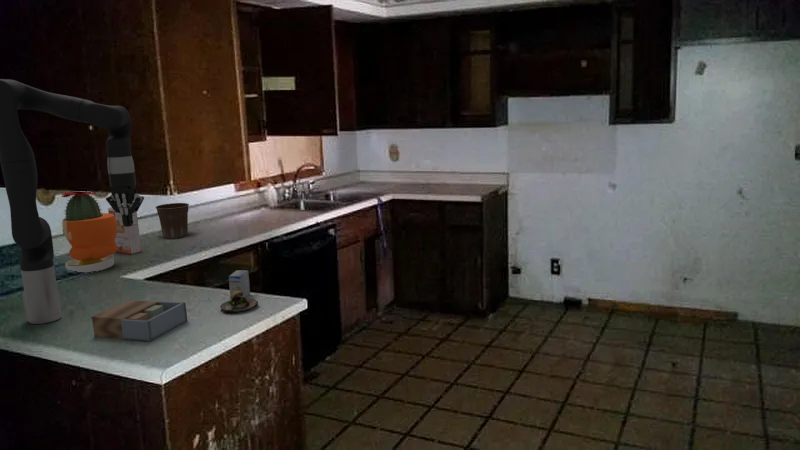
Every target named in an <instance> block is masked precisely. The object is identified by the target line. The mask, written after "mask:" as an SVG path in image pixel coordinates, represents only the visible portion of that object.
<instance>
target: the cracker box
mask: <svg viewBox="0 0 800 450" xmlns="http://www.w3.org/2000/svg"><path fill="white" fill-rule="evenodd" d="M107 211H108V213H110V214H114V216H115V218H116V222H117V235H116V238H115V242H116V244H117V250H116V252H118V253H121V254H128V255H133V254H138V253H142V252H143V251H142V244H141V234H140V229H139V220H138V219H139V218H138V211H137V212H134V213H133V214H132V217H133V224H132V226H130V227H125V226H124V225H123V221H122V215H121V214H120V213H116V212H115V211H114V209H113V208H112V207H111V206H110V207H108V208H107ZM116 252H115V253H116Z"/></svg>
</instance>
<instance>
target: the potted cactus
mask: <svg viewBox="0 0 800 450" xmlns="http://www.w3.org/2000/svg"><path fill="white" fill-rule="evenodd" d="M96 194H97V193H91V192H87V191H86V192H65V191H62V193H61V194H60V196H61V197H60V198H69V199H66V200H67V202H65V205H66V206H65V209H64V210H63V214H64V215H65V216H64V218H63V219H62V222H61V223H62V226H61V227H62V234H63V235H64V237H65V239H66V240H67V242H68V243H69V244H70V245H71V248H70V249H69V251H68V254H69V256H70V257H71V258H72V259H71V260H68V261H67V262H65V264H64V265H65V270H66V269H68V270H72V271H77V272H91V271H96V272H99V270H100V271H103V270H106V269H108V268H111V267H112V266H114V265H115V261H114V260H115V259H114V254H115V253H116V250H117V244H116V242H115V238H116V235H117V222H116V218H115V216H114V214H110V213H109V212H108V213H107V212H103V209H102V207H101V204H100V202H99V201H98V199H96V196H93V195H96ZM95 199H96V200H95ZM68 265H79V266H68ZM91 273H92V272H91Z"/></svg>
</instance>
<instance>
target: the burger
mask: <svg viewBox="0 0 800 450" xmlns="http://www.w3.org/2000/svg"><path fill="white" fill-rule="evenodd" d="M234 290H235V289H234ZM242 295H243V292H242V291H234V292H233V293H232V294H231V296H230V295H229V300H228V301H225V302H223V303H221V305H220V312H222V313H223V314H225V315H227V314H228V312H234V313H235V312H237V313H238V312H242V311H246V310H250V309H252V308H254V307H255V306H258V305H259V302H258V300H256V299H253V298H247V297H246V298H245V297H242Z"/></svg>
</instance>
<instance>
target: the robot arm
mask: <svg viewBox="0 0 800 450" xmlns="http://www.w3.org/2000/svg"><path fill="white" fill-rule="evenodd" d="M18 110H26V111H27V110H29V111H36V112H37V111H38V112H44V113H47V114H51V115H53V116H56V117H59V118H62V119H65V120H69V121H73V122H80V123H84V124H90V125H93V126H96V127H97V128H101V129H102V128H103V129H107V130H108V138H107V139H106V141H105V148H106V149H105V150H106V156H107V161H106V162H107V172H108V180H109V187H110V188H111V192H110V193H111V194H110V195H109V196H107V197H105V200H106V202H107V203H108V205H110V208H111V207H112V208H113V209H114V211H115V212H116V213H120V214H121V215H122V221H123V225H124V226H125V227H130V226H132V224H133V217H132V214H133V213H134V212H137V213H138V211H139V209H140V207H141V205H142V203H143V202H144V200H145V197H144V196H143V195H141V196H140V194H138V189H137V188H136V185H137V180H136V170H135V163H134V160H133V155H132V154H133V153H132V145H131V134H132V133H131V132H132V119H131V115H130V112H129V111H128V110H127V108H125V107H124V106H122V105H107V104H102V103H97V102H94V101H92V100H89V99H85V98H80V97H76V96H71V95H70V96H69V95H64V94H60V93H53V92H48V91H46V90H42V89H39V88H36V87H33V86H31V85H28V84H25V83H22V82H20V81H18V80H15V79H7V78H6V79H5V78H0V167H1V173H2V176H3V177H2V178H3V182H4V186H5V187H4V188H5V192H6V195H7V200H8V204H9V209H10V211H9V212H10V225H11V227H10V228H11V236H12V239H13V241H14V244H16V245H17V246H18V247H19V248H20V253H21V255H20V260H19V266H20V267H19V268H20V273H21V279H22V287H23V292H22V294H21V295H22V302H23V307H24V313H25V320H26V322H28V323H29V324H32V325H42V324H47V323H52V322H55V321H57V320H59V319H61V318H62V311H61V306H60V305H61V303H60V296H59V292H58V285H57V278H56V272H55V263H54V255H55V254H54V242H53V235H52V234H53V233H52V229H51V226H50V224H49V222H48V221H47V220H46V219H44V218H43V217H42V216H41V217H40V215H39V211H38V206H37V191H38V169H37V164H36V158H35V153H34V151H33V147H32V146H31V145H30V143H29V141H28V139H27V137H26V136H25V134H24V132H23V130H22V129H21V125H20V120H19V115H18V113H19V112H18Z"/></svg>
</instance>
